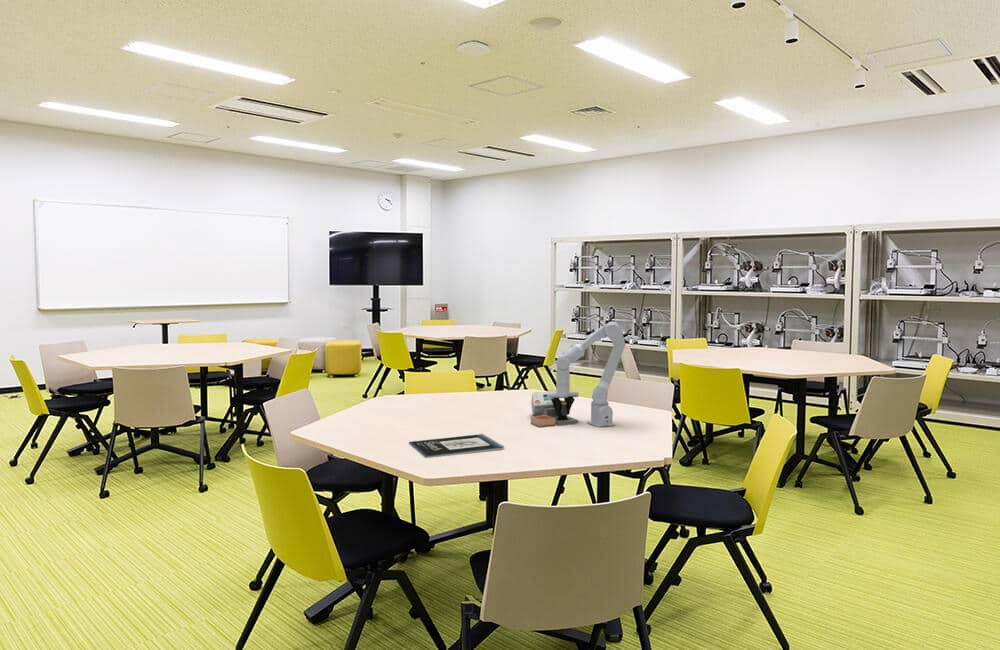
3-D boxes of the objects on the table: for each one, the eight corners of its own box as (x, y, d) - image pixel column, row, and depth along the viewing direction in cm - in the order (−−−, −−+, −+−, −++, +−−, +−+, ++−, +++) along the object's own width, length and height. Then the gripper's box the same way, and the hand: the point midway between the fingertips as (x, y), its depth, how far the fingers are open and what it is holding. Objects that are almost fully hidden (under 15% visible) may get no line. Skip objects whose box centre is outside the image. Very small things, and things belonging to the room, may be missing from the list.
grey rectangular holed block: (578, 423, 288) (578, 411, 288) (557, 425, 284) (558, 413, 284) (563, 417, 300) (563, 406, 300) (543, 419, 296) (543, 407, 296)
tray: (555, 425, 284) (555, 418, 284) (539, 427, 281) (539, 420, 280) (546, 422, 291) (546, 415, 291) (530, 423, 288) (530, 416, 287)
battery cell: (568, 420, 290) (569, 401, 289) (560, 421, 288) (561, 401, 287) (564, 418, 293) (564, 399, 293) (556, 419, 292) (556, 400, 291)
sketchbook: (408, 445, 252) (408, 439, 252) (483, 438, 264) (483, 432, 264) (425, 459, 232) (425, 453, 232) (505, 450, 244) (505, 445, 244)
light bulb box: (553, 400, 308) (555, 390, 299) (555, 414, 304) (558, 403, 295) (530, 403, 307) (531, 392, 298) (532, 416, 303) (534, 405, 294)
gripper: (572, 381, 296) (572, 411, 297) (543, 383, 290) (543, 414, 291) (581, 383, 290) (580, 414, 291) (551, 385, 284) (551, 417, 285)
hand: (562, 414), depth 291 cm, fingers closed on battery cell, 4 cm apart
